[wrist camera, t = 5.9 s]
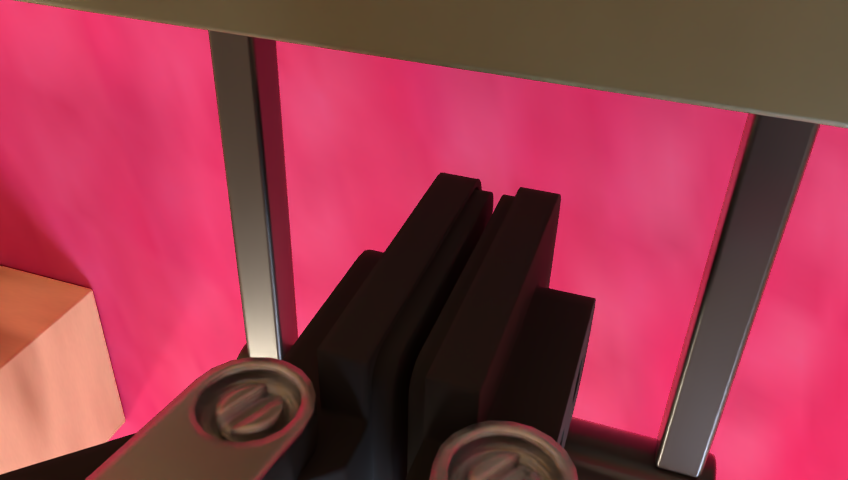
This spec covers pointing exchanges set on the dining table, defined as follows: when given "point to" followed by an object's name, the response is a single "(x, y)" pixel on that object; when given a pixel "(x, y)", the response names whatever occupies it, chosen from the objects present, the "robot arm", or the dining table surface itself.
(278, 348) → the drawer
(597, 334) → the dining table surface
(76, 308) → the block
